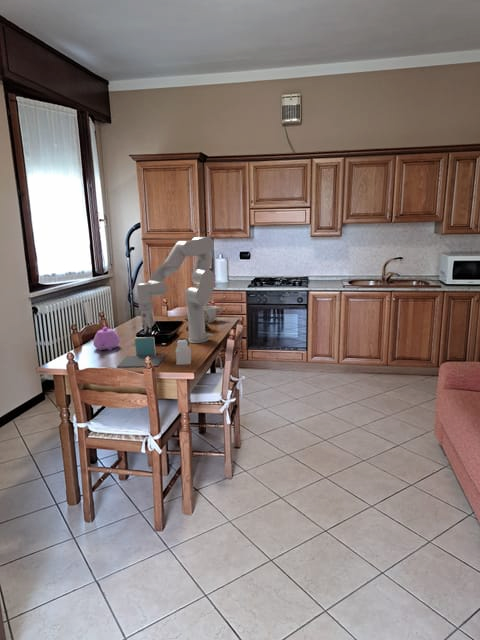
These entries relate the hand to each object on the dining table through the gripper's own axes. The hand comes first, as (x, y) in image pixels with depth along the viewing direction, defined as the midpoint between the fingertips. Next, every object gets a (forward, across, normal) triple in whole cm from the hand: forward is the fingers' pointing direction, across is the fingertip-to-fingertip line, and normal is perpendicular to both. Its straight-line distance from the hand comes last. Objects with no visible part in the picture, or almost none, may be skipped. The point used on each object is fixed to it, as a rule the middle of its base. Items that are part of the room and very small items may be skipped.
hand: (148, 339), depth 241 cm
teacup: (+7, +66, -28) cm, 72 cm away
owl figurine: (+7, +44, -21) cm, 49 cm away
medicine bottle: (+7, -22, -22) cm, 32 cm away
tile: (+7, -9, 0) cm, 11 cm away
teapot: (+7, +6, +26) cm, 28 cm away
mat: (+7, -19, 0) cm, 20 cm away
